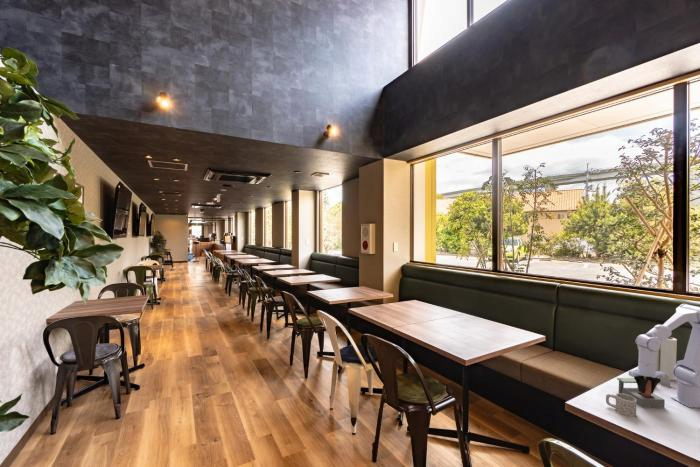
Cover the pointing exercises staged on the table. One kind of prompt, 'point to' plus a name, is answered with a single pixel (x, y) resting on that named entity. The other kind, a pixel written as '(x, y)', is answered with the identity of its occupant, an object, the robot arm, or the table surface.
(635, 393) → the socket block
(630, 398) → the mug
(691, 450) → the table surface
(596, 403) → the table surface
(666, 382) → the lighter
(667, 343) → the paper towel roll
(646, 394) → the peg
